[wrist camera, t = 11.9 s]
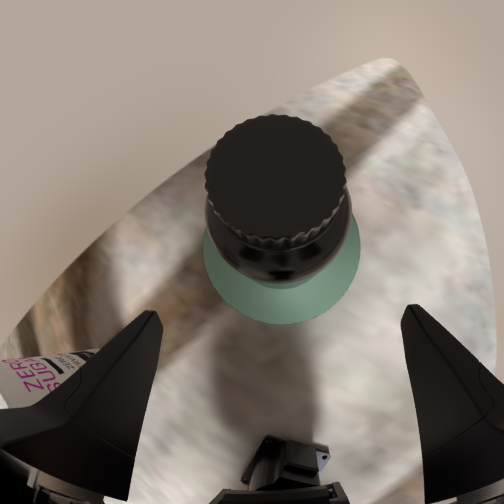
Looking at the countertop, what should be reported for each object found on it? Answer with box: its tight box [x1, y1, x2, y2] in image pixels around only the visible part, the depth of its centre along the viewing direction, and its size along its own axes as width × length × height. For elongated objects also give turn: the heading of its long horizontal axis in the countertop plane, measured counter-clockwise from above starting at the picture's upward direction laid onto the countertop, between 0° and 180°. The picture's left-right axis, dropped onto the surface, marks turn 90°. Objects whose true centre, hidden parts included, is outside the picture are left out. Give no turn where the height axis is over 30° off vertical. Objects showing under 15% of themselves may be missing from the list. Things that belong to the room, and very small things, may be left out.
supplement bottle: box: [204, 114, 352, 289], centre depth 14 cm, size 7×7×12 cm
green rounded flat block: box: [203, 213, 360, 325], centre depth 22 cm, size 12×12×3 cm
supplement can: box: [0, 348, 100, 409], centre depth 15 cm, size 8×8×15 cm
